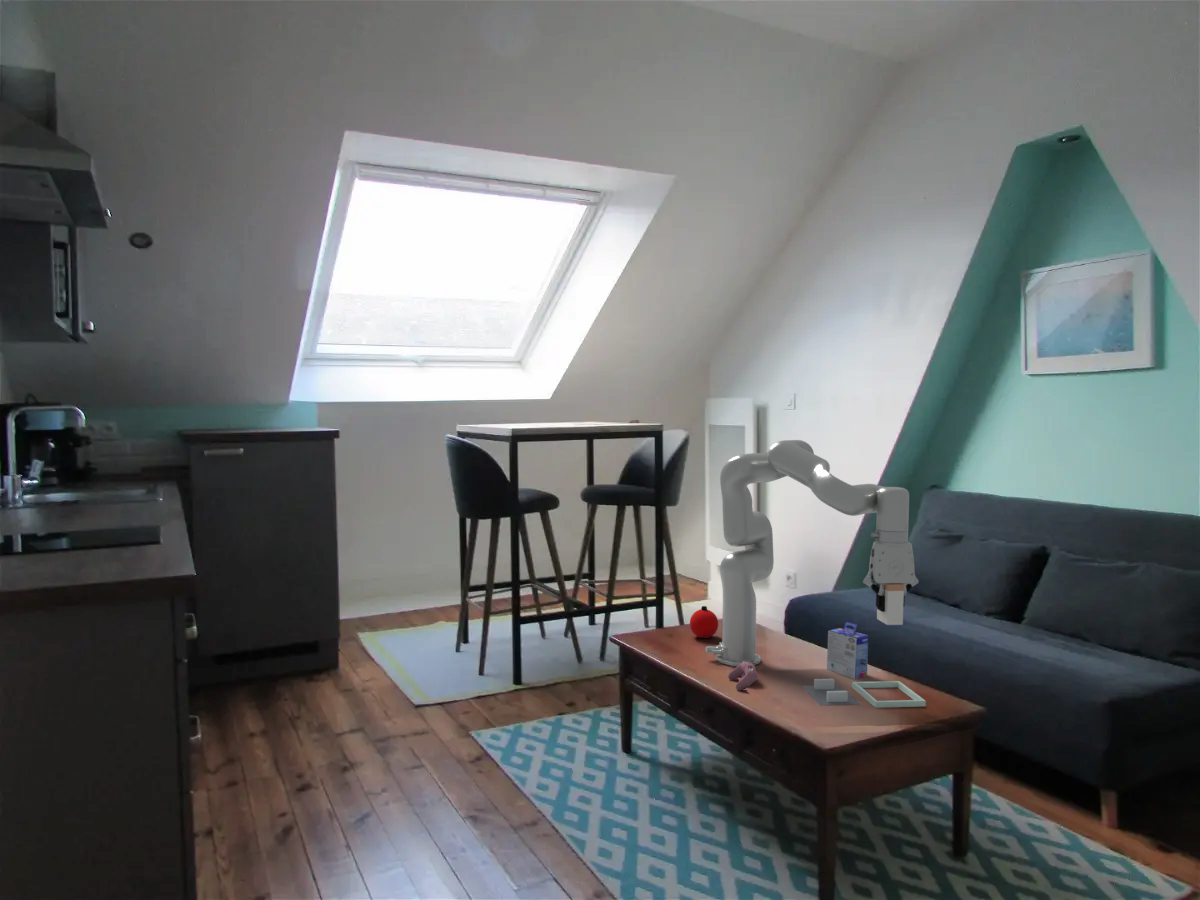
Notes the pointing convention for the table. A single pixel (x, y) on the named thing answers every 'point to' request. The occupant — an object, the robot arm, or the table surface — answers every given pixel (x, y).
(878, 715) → the table surface
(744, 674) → the video game controller
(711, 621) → the ornament
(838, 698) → the block
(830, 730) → the table surface
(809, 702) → the table surface
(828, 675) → the table surface
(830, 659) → the ink cartridge box
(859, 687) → the tray
